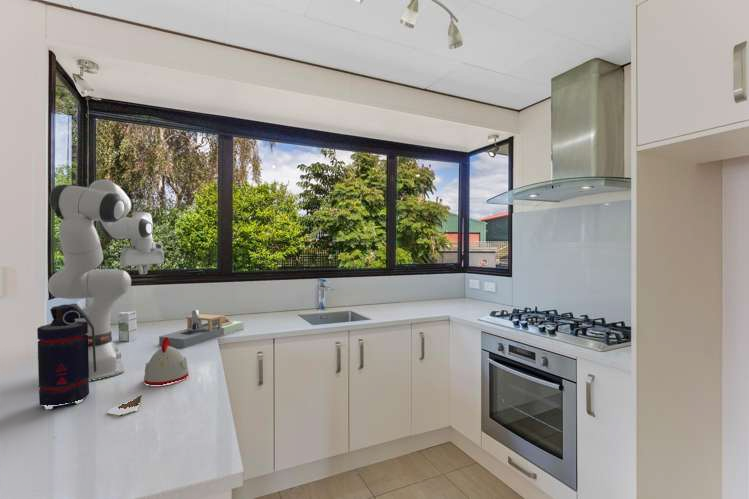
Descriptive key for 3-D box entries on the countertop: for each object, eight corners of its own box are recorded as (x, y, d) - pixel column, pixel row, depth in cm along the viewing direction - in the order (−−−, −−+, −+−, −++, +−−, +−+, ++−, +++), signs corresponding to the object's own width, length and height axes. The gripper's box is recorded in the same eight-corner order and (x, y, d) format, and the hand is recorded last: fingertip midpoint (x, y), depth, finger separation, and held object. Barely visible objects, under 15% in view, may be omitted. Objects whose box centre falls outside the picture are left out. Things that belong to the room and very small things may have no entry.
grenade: (36, 414, 106) (33, 310, 105) (42, 400, 115) (39, 305, 115) (96, 402, 114) (94, 305, 113) (97, 389, 123) (95, 300, 123)
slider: (200, 332, 185) (200, 311, 184) (185, 330, 188) (185, 310, 188) (233, 322, 206) (232, 304, 205) (219, 321, 209) (218, 303, 209)
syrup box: (137, 338, 189) (137, 310, 189) (128, 341, 183) (128, 312, 183) (127, 338, 190) (126, 310, 189) (118, 341, 184) (117, 312, 184)
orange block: (218, 325, 199) (218, 317, 199) (211, 325, 201) (211, 317, 201) (225, 324, 204) (225, 315, 204) (218, 323, 206) (218, 315, 206)
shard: (141, 399, 117) (141, 394, 116) (158, 403, 114) (158, 397, 114) (105, 414, 106) (105, 408, 106) (123, 419, 104) (123, 413, 104)
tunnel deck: (183, 347, 172) (183, 325, 172) (159, 344, 178) (159, 322, 178) (243, 328, 209) (243, 310, 209) (221, 326, 215) (221, 308, 215)
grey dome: (138, 388, 124) (137, 344, 124) (151, 374, 138) (150, 334, 137) (183, 384, 128) (182, 341, 128) (192, 371, 141) (191, 332, 141)
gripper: (125, 245, 167) (126, 276, 167) (165, 245, 186) (166, 272, 186) (116, 245, 169) (117, 275, 170) (157, 245, 188) (157, 272, 189)
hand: (143, 274), depth 178 cm, fingers closed
